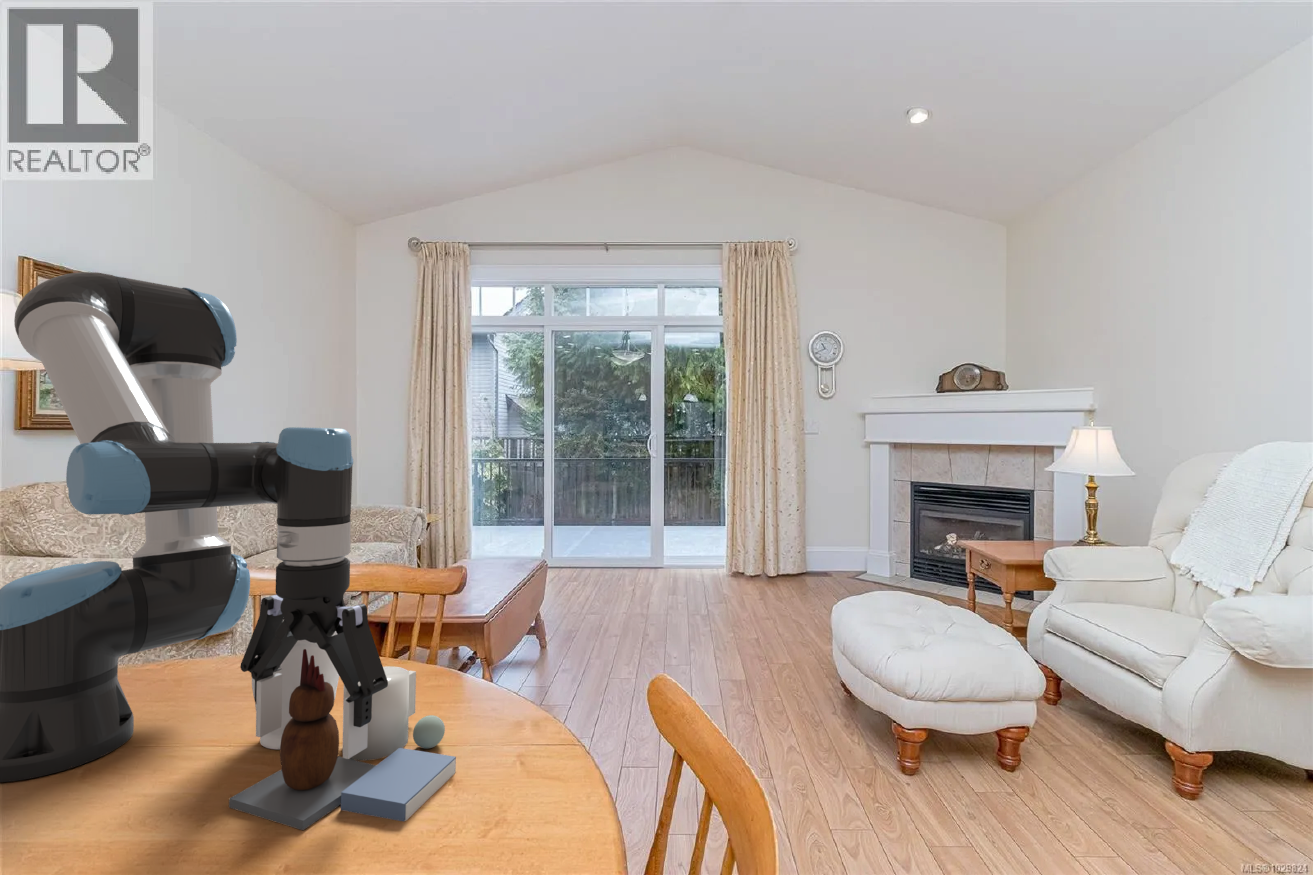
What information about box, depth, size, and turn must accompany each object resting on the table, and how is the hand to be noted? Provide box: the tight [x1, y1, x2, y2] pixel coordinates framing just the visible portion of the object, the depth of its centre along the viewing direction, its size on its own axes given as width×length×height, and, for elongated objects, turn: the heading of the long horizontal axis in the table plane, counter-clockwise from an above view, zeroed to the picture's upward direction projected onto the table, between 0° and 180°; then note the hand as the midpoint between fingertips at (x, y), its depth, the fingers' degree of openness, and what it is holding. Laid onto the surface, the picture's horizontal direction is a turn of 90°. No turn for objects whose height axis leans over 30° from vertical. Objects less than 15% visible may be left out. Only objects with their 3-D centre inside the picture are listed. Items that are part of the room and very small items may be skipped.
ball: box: [412, 715, 446, 750], centre depth 80 cm, size 4×4×4 cm
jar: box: [251, 631, 340, 750], centre depth 82 cm, size 11×10×15 cm
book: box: [340, 747, 457, 822], centre depth 70 cm, size 8×10×2 cm
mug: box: [342, 665, 417, 762], centre depth 82 cm, size 8×11×9 cm
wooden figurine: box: [279, 649, 340, 790], centre depth 70 cm, size 7×6×15 cm
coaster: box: [228, 755, 377, 831], centre depth 70 cm, size 11×11×1 cm
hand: (310, 742), depth 70 cm, fingers open, 13 cm apart
